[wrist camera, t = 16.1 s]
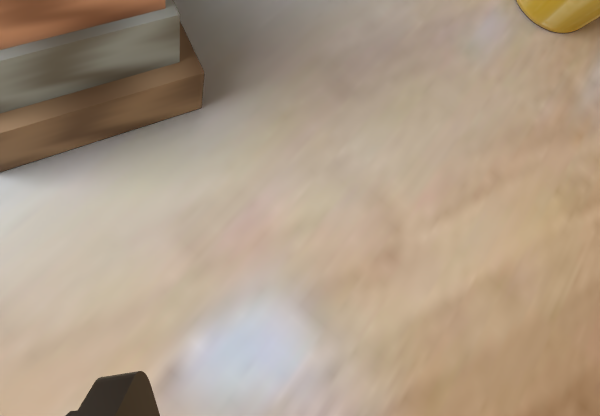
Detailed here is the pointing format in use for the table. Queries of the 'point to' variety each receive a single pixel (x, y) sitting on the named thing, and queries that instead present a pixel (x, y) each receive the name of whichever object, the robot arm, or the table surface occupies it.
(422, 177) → the table surface
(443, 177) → the table surface
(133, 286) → the table surface
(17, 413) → the table surface
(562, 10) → the plant pot
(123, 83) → the stepped tower
